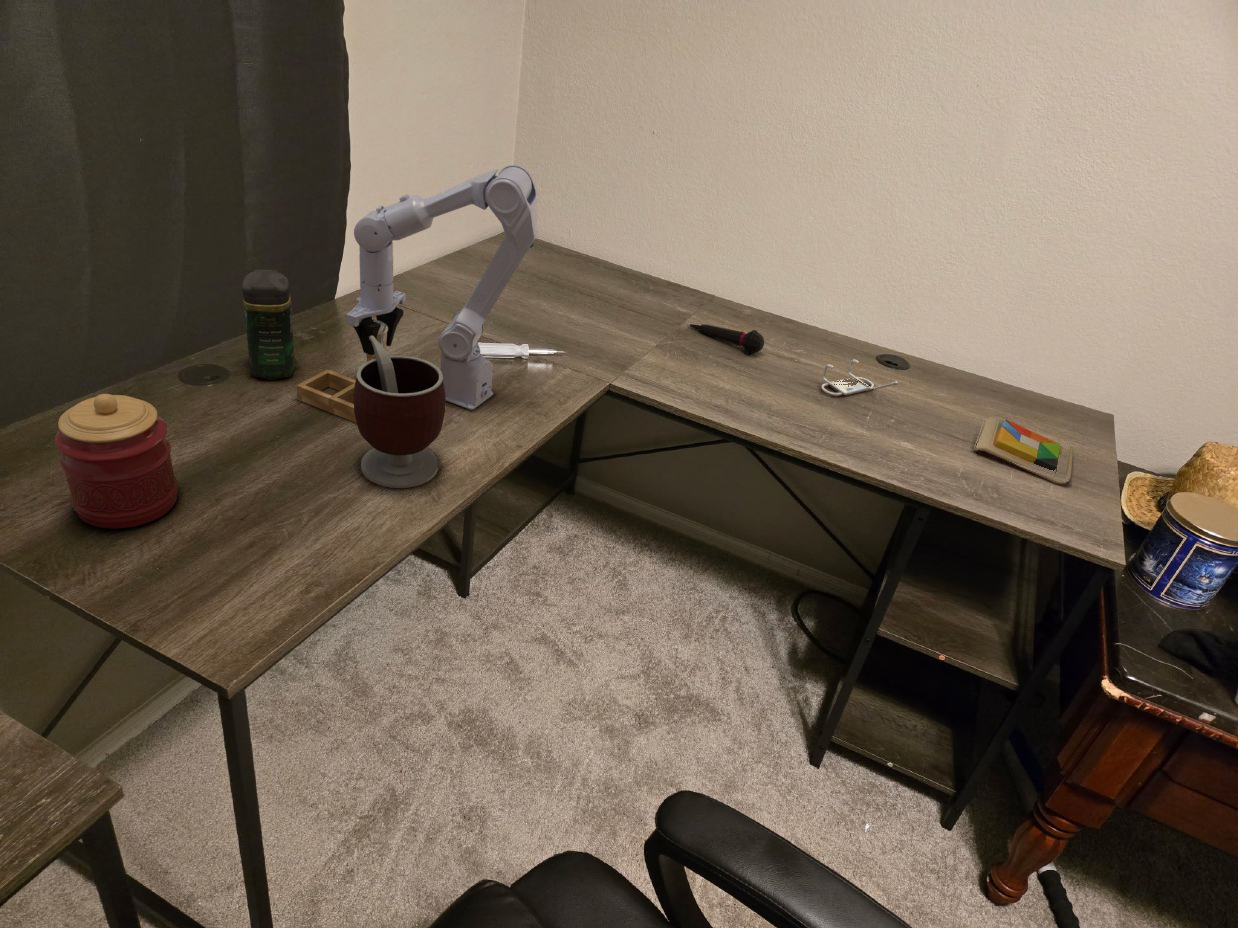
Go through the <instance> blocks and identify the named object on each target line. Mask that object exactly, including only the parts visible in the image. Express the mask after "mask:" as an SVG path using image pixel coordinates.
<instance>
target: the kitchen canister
mask: <svg viewBox="0 0 1238 928" xmlns="http://www.w3.org/2000/svg"><path fill="white" fill-rule="evenodd" d="M57 425H58V430H57V431H56V434H55V436H54V445H55V447H56V448H57V450H58V451H59V452H60V453H61V456H60V459H59V461H60V466H61V468H62V470H63V471H64V475H65V478H66V481H67V485H68V489H69V492H70V502H71V506H72V508H73V510H74V511H75V512H76V514H77V516H78V517H79V519H80V520H81V521H83V522H84V523H86V524H88V525H90V526H93V527H95V528H96V527H97V528H101V529H127V528H135V527H138V526H142V525H145V524H148V523H151V522H153V521H156V520H157V519H159V518H161V517H162V516H164V515H165V514H167V513H168V512H169V511H170V510H171V509H172V508H173V507H174V506H175V504H176V502H177V499H178V493H179V485H178V480H177V477H176V476H175V471H174V466H173V460H172V456H171V453H172V448H171V443H170V442H169V441H168V439H167V438H166V436H167V434H168V426H167V423H166V422H165V420H164V419H163V418H162V417H161V416H159V415H158V411H157V409H156V407H155V406H154V405H152V404H151V403H150V402H148V401H145V400H143V399H139V398H135V397H132V396H129V395H123V394H122V395H121V394H110V393H101V394H98V395H97V396H94V397H89V398H87V399H85V400H82V401H80V402H79V403H77V404H75V405H73V406H72V407H70V408H68V409H67V410H65V411H64V412H63V413H62V415H60V416H59V419H58V423H57Z"/></svg>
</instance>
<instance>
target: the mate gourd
mask: <svg viewBox="0 0 1238 928" xmlns="http://www.w3.org/2000/svg"><path fill="white" fill-rule="evenodd" d="M369 340H370V341H371V342H372V345H373V348H374V352H375V356H376V358H375V359H372V360H369V361H367V360H366V361H365V362H364V363H363V364H360V366H359V367H358V368H357V371H356V378H355V380H356V381H355V387H354V402H353V404H354V414H355V418H356V426H357V429H358V431H359V434H360V436H361V437H362V438H363V440H365V441H366V442H367V443H368V444H369V445H370V446H371V447H372V448H371V449H369V450H368V451H367V452H365V454H364V455H363V456H362V458H361V460H360V470H361V472H362V474H363V475H364V477H365V478H366V479H367V480H368V481H370V482H372V483H374V484H376V485H378V486H381V487H386V488H391V489H407V488H409V489H410V488H414V487H418V486H421V485H423V484H426V483H427V482H429V481H430V480H433V478H434V477H435V476H436V474H437V472H438V470H439V461H438V458H437V456H436V455H435V454H434V453H433V452H432V451H431V450H429V449H428V447H429V446H430V445H432V443H433V442H435V440H437V438H438V437H439V436H440V434H441V430H442V427H443V423H444V419H445V415H446V414H445V413H446V402H447V401H446V396H445V388H444V383H443V375H442V372H441V370H440V368H439V367H438V366H437V365H436V364H434V363H432V362H431V361H428V360H426V359H423V358H419V357H415V356H409V355H389V353H388V352H387V349H386V350H385V349H384V348H383V347H382V345H381V344H380V343H379V342H378V341H377V340H376V339H375V337H374V336H370V337H369Z"/></svg>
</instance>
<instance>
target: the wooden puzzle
mask: <svg viewBox="0 0 1238 928" xmlns="http://www.w3.org/2000/svg"><path fill="white" fill-rule="evenodd" d="M986 418H987V420H986V423H985V426H984V429H983V431H982V434H981V436H980V438H979V435H980V432H981V429H982V426H983V423H984V420H982V423H981V426H980V428H979V432H978V434H977V437H976V441H975V444H974V447H973V451H974V452H981V451H982V452H986V453H988V454H990V455H992V456H995V457H997V458H999V457H1000V458H999V459H1001V458H1002V459H1001V460H1003V459H1005V460H1004V461H1006V460H1007V461H1006V462H1008V461H1010V462H1014V463H1016V464H1019V465H1023V466H1025V467H1029V468H1030V467H1031V466H1028V465H1030V464H1032V463H1030V462H1033V463H1034V464H1036V465H1039V466H1041V467H1044V468H1047V469H1049V470H1053V471H1054V470H1055V469H1056V472H1057V465H1058V459H1059V455H1060V457H1061V454H1062V450H1063V447H1064V446H1063V445H1061V442H1057V441H1056V440H1053V439H1050V438H1048V437H1046V436H1043V435H1041V434H1039V433H1037V432H1035V431H1032V430H1030V429H1028V428H1026V427H1025V426H1022V425H1020V424H1018V423H1015V422H1014V421H1011V420H1009V419H1007V418H1005V419H1003V420H1002V419H1001V418H998V417H995V416H989V417H986ZM978 438H979V442H978V443H977V441H978ZM976 443H977V446H976ZM975 446H976V448H977V449H978V450H980V451H978V450H976V449H975ZM1069 447H1070V449H1069V450H1070V452H1069V458H1068V463H1067V464H1068V465H1067V469H1066V475H1065V477H1066V478H1065V479H1066V480H1069V481H1070V480H1071V478H1072V471H1073V470H1072V469H1073V461H1074V449H1075V448H1074V447H1073V446H1069ZM1010 462H1009V463H1010ZM1027 464H1028V465H1027ZM1034 464H1032V465H1034ZM1013 465H1014V466H1016V465H1015V464H1013ZM1039 466H1038V467H1039ZM1018 467H1019V468H1020V469H1023V470H1025V471H1027V472H1030V473H1032V474H1034V475H1036V476H1038V477H1040V478H1043V479H1045V480H1047V481H1050V482H1052V483H1054V484H1057V485H1065V484H1066V483H1063V482H1061V481H1059V480H1056V479H1053V478H1050V477H1047V476H1044V475H1041V474H1039V473H1036V472H1033V471H1031V470H1028V469H1025V468H1023V467H1020V466H1018ZM1056 472H1055V475H1054V477H1056Z"/></svg>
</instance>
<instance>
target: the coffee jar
mask: <svg viewBox="0 0 1238 928" xmlns="http://www.w3.org/2000/svg"><path fill="white" fill-rule="evenodd" d="M290 289H291V288H290V283H289V279H288V278H287V276H285V274H282V273H281V272H280V271H279V270H273V269H254V270H253V271H251V272H249V273H248V274H246V276H244V278H243V280H242V285H241V291H242V302H243V311H244V321H245V322H244V323H245V330H246V331H245V332H246V340H247V350H248V362H249V363H248V364H249V370H250V373H251V375H253V376H254V377H255V378H261V379H265V380H279V379H282V378H289V377H291V376H292V375H293V373H294V371H295V366H296V361H295V345H294V344H295V343H294V325H293V312H292V311H293V310H292V300H291V291H290Z"/></svg>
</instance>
